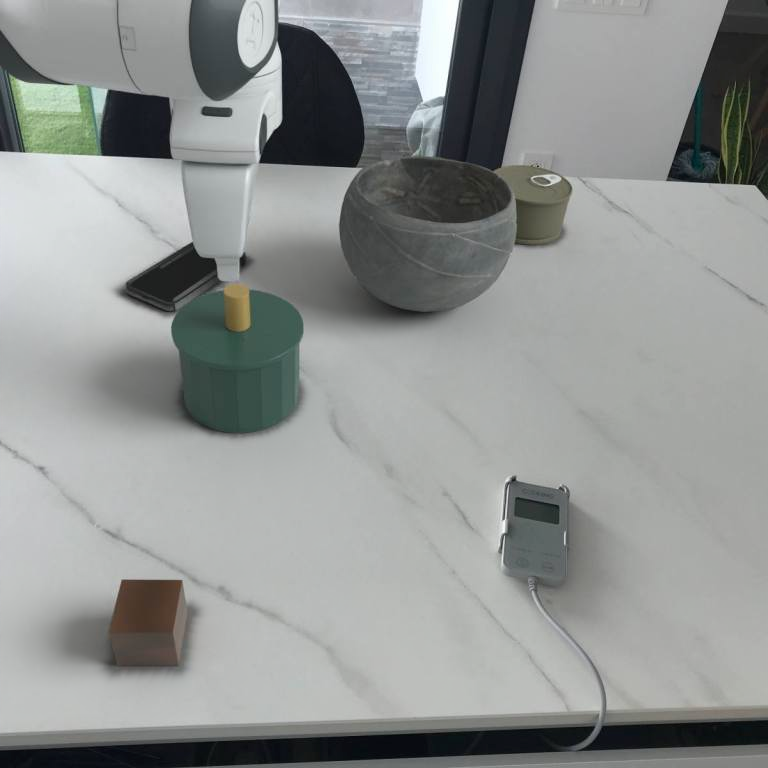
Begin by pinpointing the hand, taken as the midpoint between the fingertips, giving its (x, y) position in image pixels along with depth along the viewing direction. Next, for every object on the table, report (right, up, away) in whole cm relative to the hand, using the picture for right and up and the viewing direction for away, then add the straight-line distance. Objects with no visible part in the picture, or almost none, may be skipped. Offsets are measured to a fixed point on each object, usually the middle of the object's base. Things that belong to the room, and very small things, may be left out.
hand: (234, 249), depth 71 cm
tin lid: (-1, -7, +6) cm, 9 cm away
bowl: (+18, -1, +29) cm, 34 cm away
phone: (-11, +1, +28) cm, 30 cm away
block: (-4, -32, -11) cm, 34 cm away
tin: (-1, -14, +11) cm, 18 cm away
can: (+34, +11, +45) cm, 58 cm away
